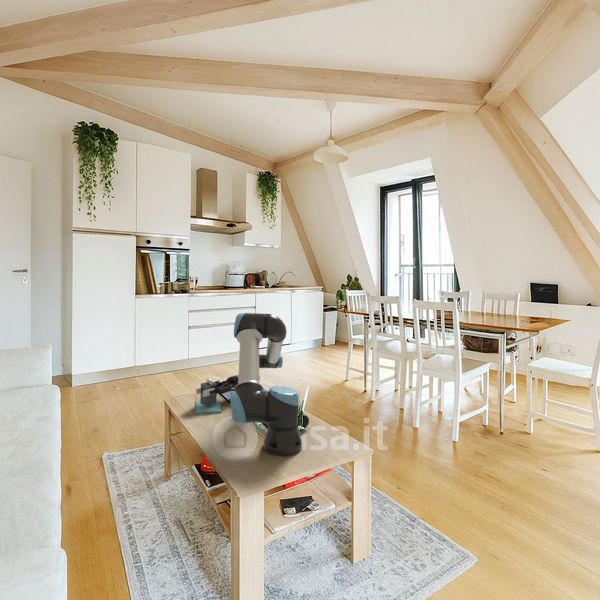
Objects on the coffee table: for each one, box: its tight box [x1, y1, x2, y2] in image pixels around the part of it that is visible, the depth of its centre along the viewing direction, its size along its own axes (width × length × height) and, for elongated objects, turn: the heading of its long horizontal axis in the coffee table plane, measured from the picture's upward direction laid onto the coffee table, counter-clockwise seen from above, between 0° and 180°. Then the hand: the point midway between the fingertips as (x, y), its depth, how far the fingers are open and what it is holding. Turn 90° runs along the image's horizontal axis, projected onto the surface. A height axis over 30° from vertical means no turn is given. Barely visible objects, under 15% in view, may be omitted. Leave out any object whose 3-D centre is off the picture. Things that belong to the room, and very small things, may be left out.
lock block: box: [199, 378, 218, 406], centre depth 185 cm, size 6×5×12 cm
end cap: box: [303, 413, 310, 429], centre depth 166 cm, size 10×7×7 cm
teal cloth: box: [195, 398, 222, 415], centre depth 187 cm, size 18×12×1 cm, turn 15°
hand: (199, 392), depth 181 cm, fingers closed on lock block, 5 cm apart
